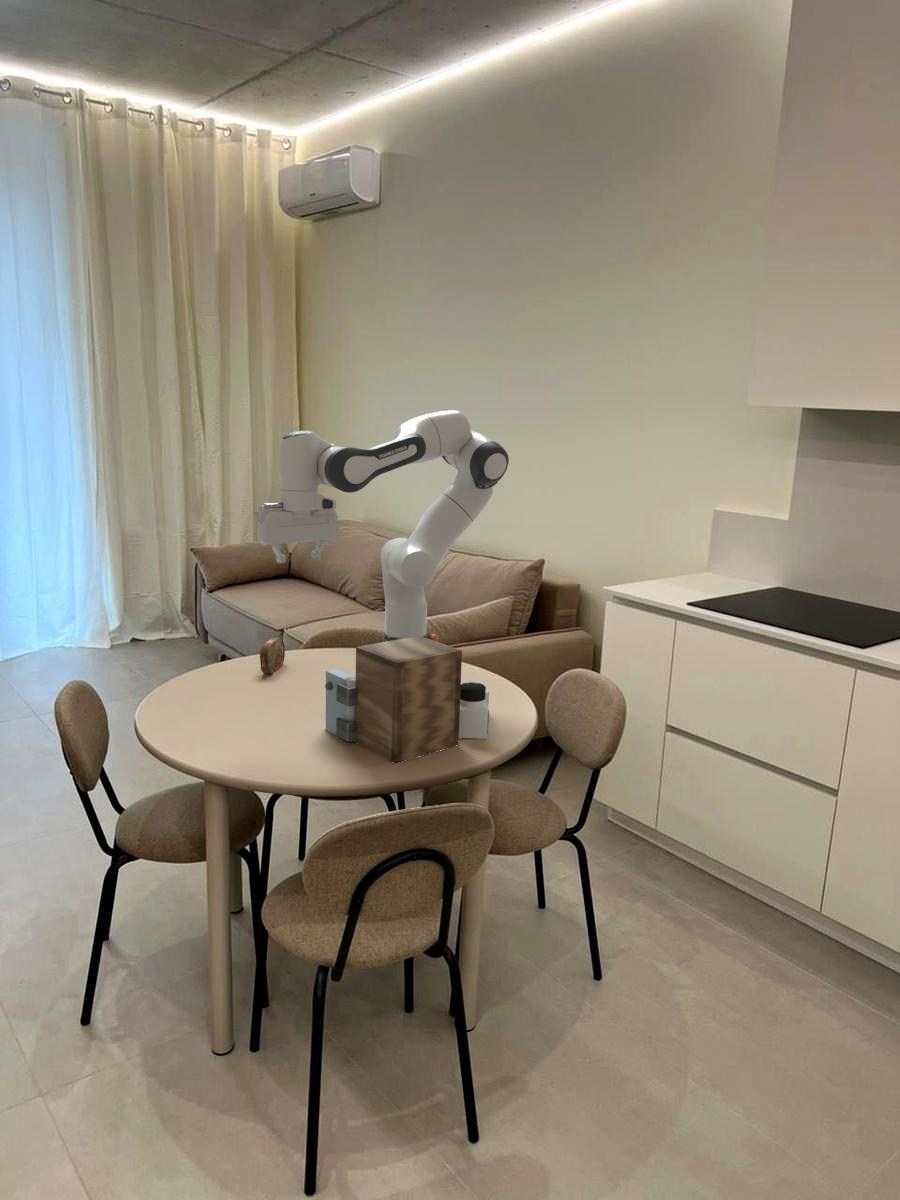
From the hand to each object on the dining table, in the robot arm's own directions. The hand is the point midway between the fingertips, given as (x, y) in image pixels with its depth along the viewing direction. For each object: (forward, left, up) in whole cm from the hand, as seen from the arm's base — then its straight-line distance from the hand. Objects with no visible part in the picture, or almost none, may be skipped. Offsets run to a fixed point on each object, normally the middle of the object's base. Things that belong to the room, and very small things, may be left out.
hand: (298, 560), depth 210 cm
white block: (-33, +26, -37) cm, 56 cm away
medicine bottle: (-24, +36, -37) cm, 57 cm away
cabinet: (-7, +30, -37) cm, 48 cm away
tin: (-12, -34, -37) cm, 52 cm away
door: (0, +19, -37) cm, 42 cm away
